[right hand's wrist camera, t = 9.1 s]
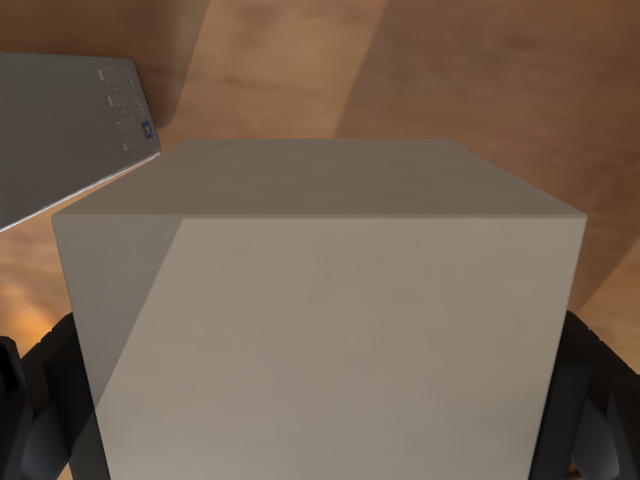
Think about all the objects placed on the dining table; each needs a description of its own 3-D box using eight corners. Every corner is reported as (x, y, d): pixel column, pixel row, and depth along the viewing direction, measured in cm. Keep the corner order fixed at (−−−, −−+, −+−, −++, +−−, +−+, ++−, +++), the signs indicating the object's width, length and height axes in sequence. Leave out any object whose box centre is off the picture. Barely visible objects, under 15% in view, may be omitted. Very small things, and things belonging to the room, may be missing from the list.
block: (449, 138, 13) (590, 214, 6) (426, 358, 16) (506, 577, 9) (190, 138, 13) (48, 215, 6) (212, 359, 16) (132, 577, 9)
